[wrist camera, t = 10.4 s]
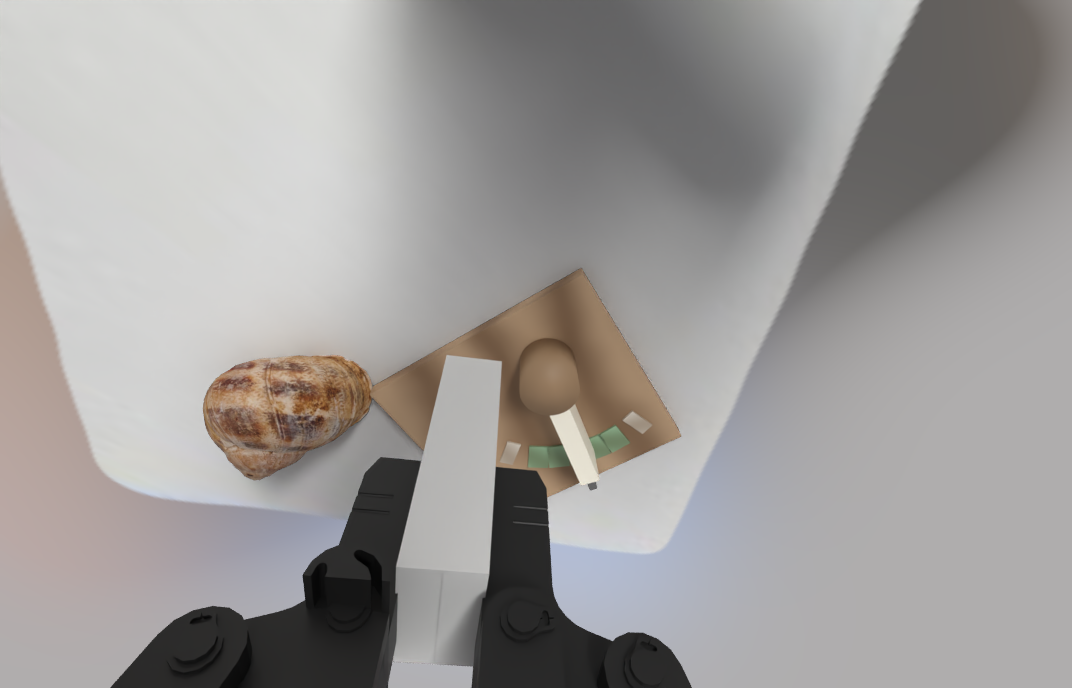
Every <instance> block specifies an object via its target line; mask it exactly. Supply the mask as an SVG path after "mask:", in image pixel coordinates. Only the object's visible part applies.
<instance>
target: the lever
mask: <svg viewBox="0 0 1072 688" xmlns="http://www.w3.org/2000/svg"><path fill="white" fill-rule="evenodd" d="M579 394H580V385H579V380H578V374H577V368H576V362H575V357H574V353H573V351H572V350H571V348H570V347H569V346H568V345H567V344H565V343H564V342H562V341H560V340H557V339H553V338H544V339H539V340H536V341H534V342H532V343H530V344H529V345H528V346H527V347H526V348H525V349H524V350H523V352H522V354H521V357H520V398H521V400H522V402H523V404H524V405H525V406H526V407H527V408H528V409H529V410H531V411H532V412H534V413H537V414H540V415H547V416H550V418H551V420H552V422H553V424H554V427H555V429H556V431H557V433H558V436H559V438H560V440H561V442H562V444H563V447H564V449H565V451H566V453H567V456H568V458H569V460H570V462H571V464H572V467H573V469H574V471H575V473H576V476H577V478H578V480H579V482H580V484H581V486H582V485H585V484H588V487H589V489H590V490H594V489H597V485H596V481H599V474H598V469H597V463H596V458H595V452H594V449H593V446H592V444H591V442H590V439H589V437H588V434H587V432H586V429H585V427H584V425H583V422H582V420H581V417H580V415H579V413H578V410H577V408H576V405H575V403H576V402H577V400H578V398H579Z"/></svg>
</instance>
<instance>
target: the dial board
mask: <svg viewBox="0 0 1072 688" xmlns="http://www.w3.org/2000/svg"><path fill="white" fill-rule="evenodd" d="M544 338H553V339H557V340H560V341H562V342H564V343H565V344H567V345H568V346H569V347H570V348H571V350H572V351H573V353H574V357H575V362H576V368H577V374H578V380H579V385H580V394H579V398H578V400H577V402H576V403H575V405H576V408H577V410H578V413H579V415H580V417H581V420H582V422H583V425H584V427H585V429H586V432H587V434H588V437H589V439H590V442H591V444H592V446H593V449H594V452H595V458H596V463H597V469H598V474H600V473H602V472H604V471H606V470H608V469H611V468H613V467H615V466H617V465H619V464H622V463H624V462H626V461H628V460H631V459H633V458H635V457H637V456H639V455H642V454H644V453H646V452H648V451H650V450H653V449H655V448H657V447H659V446H661V445H664V444H666V443H668V442H670V441H672V440H675V439H677V438H679V437H681V434H680V432H679V429H678V427H677V426H676V424H675V422H674V421H673V419H672V417H671V416H670V414H669V412H668V411H667V409H666V407H665V406H664V404H663V402H662V401H661V399H660V397H659V396H658V394H657V392H656V391H655V389H654V387H653V386H652V384H651V383H650V381H649V379H648V378H647V376H646V374H645V373H644V371H643V369H642V368H641V366H640V364H639V363H638V361H637V359H636V358H635V356H634V354H633V353H632V351H631V349H630V348H629V346H628V344H627V343H626V341H625V339H624V338H623V336H622V334H621V333H620V331H619V330H618V328H617V326H616V325H615V323H614V321H613V320H612V318H611V316H610V315H609V313H608V311H607V310H606V308H605V306H604V305H603V303H602V301H601V300H600V298H599V296H598V295H597V293H596V291H595V290H594V288H593V286H592V285H591V283H590V281H589V280H588V278H587V277H586V275H585V273H584V272H583V270H582V268H581V269H579V270H577V271H575V272H573V273H572V274H570V275H568V276H566V277H565V278H563V279H561V280H559V281H558V282H556V283H554V284H552V285H551V286H549V287H547V288H545V289H544V290H542V291H540V292H538V293H536V294H535V295H533V296H531V297H529V298H528V299H526V300H524V301H522V302H521V303H519V304H517V305H515V306H514V307H512V308H510V309H508V310H507V311H505V312H503V313H501V314H500V315H498V316H496V317H494V318H492V319H491V320H489V321H487V322H485V323H484V324H482V325H480V326H478V327H477V328H475V329H473V330H471V331H470V332H468V333H466V334H464V335H463V336H461V337H459V338H457V339H455V340H454V341H452V342H450V343H448V344H447V345H445V346H443V347H441V348H440V349H438V350H436V351H434V352H433V353H431V354H429V355H427V356H426V357H424V358H422V359H420V360H419V361H417V362H415V363H413V364H411V365H410V366H408V367H406V368H404V369H403V370H401V371H399V372H397V373H396V374H394V375H392V376H390V377H389V378H387V379H385V380H383V381H382V382H380V383H378V384H376V385H375V386H373V388H372V390H371V392H370V396H371V397H372V398H373V399H374V400H375V401H376V402H377V403H378V404H379V405H380V406H381V407H382V408H383V409H384V410H385V411H386V412H387V413H388V414H389V416H390V417H391V418H392V419H393V420H394V421H395V422H396V423H397V424H398V425H399V426H400V427H401V428H402V429H403V430H404V431H405V432H406V433H407V434H408V435H409V436H410V437H411V439H412V440H413V441H414V442H415V443H416V444H417V445H418V446H419V447H420V448H421V449H422V450H423V451H424V448H425V444H426V440H427V435H428V431H429V427H430V423H431V419H432V415H433V410H434V406H435V402H436V398H437V394H438V389H439V385H440V381H441V377H442V373H443V369H444V364H445V360H446V356H447V355H451V356H460V357H468V358H477V359H486V360H494V361H502V368H501V385H500V401H499V418H498V435H497V452H496V467H503V468H514V469H524V470H535V471H537V472H538V474H539V476H540V477H541V479H542V481H543V483H544V485H545V486H546V488H547V497H549V496H551V495H553V494H556V493H558V492H560V491H562V490H564V489H567V488H569V487H571V486H573V485H575V484H578V483H580V482H579V480H578V478H577V476H576V473H575V471H574V469H573V467H572V464H571V462H570V460H569V458H568V456H567V453H566V451H565V449H564V447H563V444H562V442H561V440H560V438H559V436H558V433H557V431H556V429H555V427H554V424H553V422H552V420H551V418H550V416H547V415H540V414H537V413H534V412H532V411H531V410H529V409H528V408H527V407H526V406H525V405H524V404H523V402H522V400H521V398H520V357H521V354H522V352H523V350H524V349H525V348H526V347H527V346H528V345H529V344H530V343H532V342H534V341H536V340H539V339H544Z"/></svg>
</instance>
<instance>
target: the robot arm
mask: <svg viewBox="0 0 1072 688" xmlns="http://www.w3.org/2000/svg"><path fill="white" fill-rule="evenodd" d="M501 368H502V361H494V360H486V359H477V358H468V357H460V356H451V355H447V356H446V360H445V364H444V369H443V373H442V377H441V381H440V385H439V389H438V394H437V398H436V402H435V406H434V410H433V415H432V419H431V423H430V427H429V431H428V435H427V440H426V444H425V448H424V452H423V456H422V460H421V461H415V460H405V459H394V458H384V457H380V458H379V459H378V460H377V461H376V462H375V463H374V464H373V466H372V467H371V468H370V469H369V470H368V471H367V472H366V473H365V475H364V478H363V480H362V483H361V486H360V488H359V491H358V496H357V497H356V499H355V502H354V505H353V508H352V512H351V513H350V516H349V519H348V521H347V524H346V527H345V530H344V533H343V535H342V538H341V541H340V544H339V545H338V546H336V547H333V548H330V549H328V550H326V551H324V552H323V553H322V554H320V555H319V556H318V557H317V558H315V559H314V560H313V561H312V562H311V563H310V565H309V566H308V568H307V569H306V571H305V572H304V574H303V583H304V592H305V601H303V602H301V603H299V604H297V605H296V606H294V607H292V608H289V609H286V610H283V611H280V612H276V613H272V614H267V615H263V616H259V617H255V618H250V619H246V620H244V619H243V617H242V615H240V614H239V613H237V612H235V611H234V610H232V609H230V608H225V607H216V606H211V607H206V608H202V609H198V610H193V611H191V612H189V613H187V614H185V615H183V616H182V617H180V618H178V619H176V620H174V621H173V622H172V623H171V624H169V625H168V626H167V627H166V628H165V629H164V630H162V631H161V632H160V633H159V634H158V635H157V636H156V637H155V638H154V639H153V640H152V642H151V643H150V644H149V645H148V646H147V647H146V648H145V649H144V651H143V652H142V653H141V654H140V655H139V656H138V657H137V658H136V660H135V661H134V662H133V663H132V664H131V665H130V666H129V667H128V669H127V670H126V671H125V672H124V673H123V674H122V675H121V676H120V677H119V679H118V680H117V681H116V682H115V683H114V684H113V685H112V687H111V688H388V680H389V675H390V670H391V666H392V661H393V662H405V663H422V664H440V665H457V666H473V678H472V688H692V687H691V685H690V683H689V681H688V679H687V676H686V674H685V672H684V670H683V668H682V666H681V664H680V663H679V661H678V660H677V658H676V657H675V655H674V654H673V652H672V651H671V650H670V649H669V648H668V647H667V646H666V645H664V644H663V643H662V642H661V641H659V640H658V639H657V638H654V637H652V636H649V635H647V634H644V633H630V632H628V633H626V634H624V635H622V636H619V637H617V638H615V640H614V641H611V640H608V639H606V638H603V637H601V636H599V635H596V634H594V633H591V632H589V631H587V630H585V629H583V628H581V627H579V626H577V625H576V624H574V623H573V622H572V621H571V620H570V619H568V618H567V617H566V616H565V614H564V613H563V612H562V610H561V609H560V608H559V606H558V604H557V602H556V600H555V597H554V593H553V587H552V574H551V555H550V538H549V527H548V524H549V521H548V511H547V509H548V504H547V488H546V486H545V485H544V483H543V481H542V479H541V477H540V476H539V474H538V472H537V471H535V470H524V469H514V468H503V467H496V452H497V435H498V418H499V401H500V385H501ZM393 656H394V657H393Z"/></svg>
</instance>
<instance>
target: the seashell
mask: <svg viewBox="0 0 1072 688" xmlns="http://www.w3.org/2000/svg"><path fill="white" fill-rule="evenodd" d="M371 390H372V383H371V380H370V378H369V376H368V374H367V372H366V371H365V370H364V369H362V368H361V367H360V366H359V365H358V364H357V363H355V362H354V361H351V360H347V359H345V358H344V357H342V356H338V355H325V356H318V355H317V356H311V357H308V356H289V357H278V358H263V359H258V360H253V361H249V362H246V363H242V364H239V365H236V366H234V367H233V368H231V369H230V370H228V371H227V372H225V373H223V374H221V375H220V376H219V377H218V378H216V379H215V381H214V382H213V383H212V385H211V386H210V387H209V389H208V391H207V393H206V396H205V399H204V404H203V413H204V420H205V426H206V429H207V431H208V434H209V435H210V437H211V439H212V440H213V441H214V442H215V444H216V445H217V446H218V447H219V448H220V449H221V450H222V451H223V452H224V453H225V454H226V456H227V458H228V460H229V461H230V462H231V463H232V464H233V465H234V466H235V467H236V468H237V469H238V470H239V471H241V472H242V474H243V475H244V476H246V477H248V478H250V479H253V480H260V479H263V478H264V477H268V476H270V475H272V474H273V473H275V472H276V471H278V470H280V469H282V468H285V467H287V466H289V465H291V464H293V463H295V462H297V461H298V460H299V459H301V458H302V457H303V455H304V454H305V453H306V452H307V451H309V450H312V449H315V448H318V447H320V446H323V445H325V444H327V443H329V442H331V441H333V440H335V439H336V438H337V437H339V436H340V435H342V434H343V433H344V432H345V431H346V430H347V429H348V428H349V427H350V426H352V425H354V424H355V423H357V422H359V421H360V420H361V419H362V418H363V417H364V416H365V415H366V414H367V413H368V411H369V406H370V404H371V401H372V397H371V396H370V392H371Z"/></svg>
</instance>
